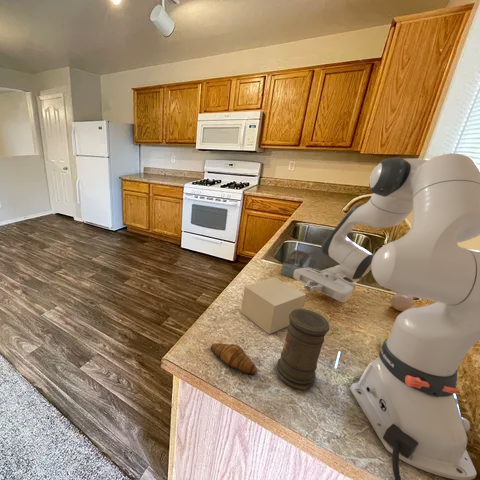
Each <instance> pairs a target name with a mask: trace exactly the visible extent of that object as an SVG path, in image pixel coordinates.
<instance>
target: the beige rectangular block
mask: <svg viewBox="0 0 480 480" xmlns="http://www.w3.org/2000/svg"><path fill="white" fill-rule="evenodd" d="M306 295H307V294H306V293H305V292H303V291H301V290H299V289H297V288H296V287H294V286H292V285H290V284H288V283H287V282H284V281H283V280H281V279H280V278H277V277H275V276H273V277H271V278H268V279H264V280H261V281H257V282H255V283H251V284H247V285H245V286H244V289H243V295H242V303H241V309H240V313H241V314H243V315H244V316H245V317H246V318H248V319H249V320H250V321H252V323H254V324H256V325H257V326H258V327H259V328H261V329H262V330H263V331H264V332H266V333H267V334H268V335H271V334H273V333H275V332H278V331H280V330H282V329H285V328H288V326H289V324H290V323H289V320H290V319H289V315H290V313H291V312H292V311H293V310H295V309H304V307H305V304H304V302H305V303H306V300H307V296H306ZM305 299H306V300H305ZM303 306H304V307H303Z"/></svg>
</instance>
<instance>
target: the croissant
mask: <svg viewBox="0 0 480 480" xmlns="http://www.w3.org/2000/svg"><path fill="white" fill-rule="evenodd" d="M210 351H211V352H212V353H213V354H214V356H215V357H217V358H218V359H219V360H221V361H222V362H223V363H224V364H225V365H226V366H228V367H229V368H232V369H235V370H238V371H239V372H240V373H244V374H246V375H250V376H255V375H256V374H257V373H258V368H257V367H256V365H255V364H254V362H253V361H252V359H250V357H249V356H248V355H247V354H246V351H245V350H244V349H243V348H242V347H241V346H240V345H238V344H234V343H229V344H228V343H219V342H217V343H212V344H211V346H210Z"/></svg>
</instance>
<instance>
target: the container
mask: <svg viewBox="0 0 480 480" xmlns="http://www.w3.org/2000/svg"><path fill="white" fill-rule="evenodd" d="M289 319H290V320H289V323H290V324H289V326H287V327H286V329H287V330H286V334H285V339H284V343H283V347H282V350H281V353H280V358H279V359H278V360H277V363H276V365H275V372H276V375H277V377H278V378H279V380H280V381H281V382H282V383H284V385H286V386H288V387H290V388H293V389H294V390H300V391H305V390H309V389H311V388H312V387H313V386H314V385H315V381H316V380H315V379H316V377H317V376H316V375H317V374H316V370H317V367H318V361H319V357H320V354H321V351H322V347H323V344H324V342H325V336H327V333H328V332H329V331H330V323H329V321H328V320H327V319H326V317H324V316H323V315H322V314H320V313H318V312H316V311H314V310H310V309H305V308H303V309H295V310H293V311H292V312H291V313H290V315H289Z"/></svg>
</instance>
